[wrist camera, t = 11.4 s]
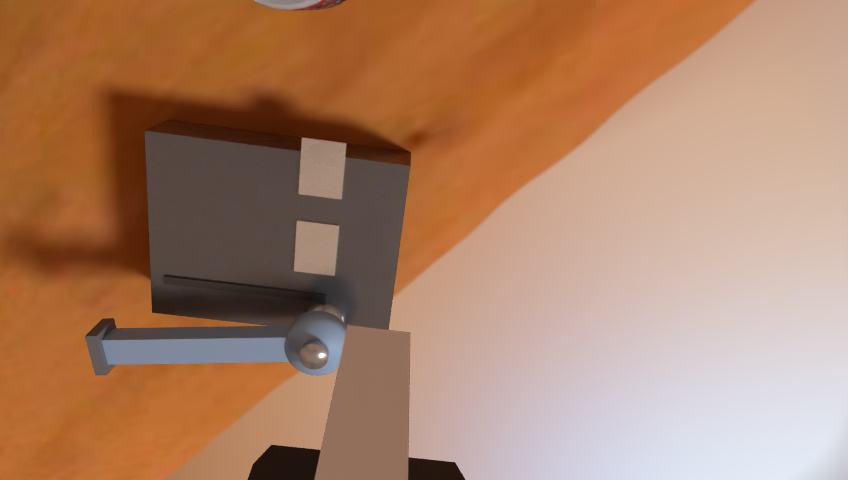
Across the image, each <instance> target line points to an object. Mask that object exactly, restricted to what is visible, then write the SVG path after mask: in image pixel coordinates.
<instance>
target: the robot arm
mask: <svg viewBox="0 0 848 480" xmlns="http://www.w3.org/2000/svg"><path fill="white" fill-rule="evenodd" d="M409 380H410V333H409V332H402V331H393V330H385V329H377V328H368V327H360V326H352V325H347V330H346V335H345V339H344V344H343V349H342V353H341V358H340V363H339V367H338V372H337V377H336V382H335V386H334V391H333V395H332V400H331V405H330V409H329V414H328V419H327V423H326V428H325V433H324V437H323V442H322V447H321V450H315V449H306V448H296V447H287V446H277V445H271V446H270V447H269V448H268V449H267V450H266V451H265V452H264V453H263V454H262V456H261V457H259V458H258V460H257V461H256V462H255V463H254V464H253V466H252V469H251V472H250V475H249V477H248V480H465V478H464V477H463V475H462V473H461V472H460V470H459V468H458V466H457V465H456V463H455V462H445V461H437V460H427V459H418V458H408V450H409V449H408V448H409V445H408V444H409V385H410V381H409Z"/></svg>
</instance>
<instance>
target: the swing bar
mask: <svg viewBox="0 0 848 480" xmlns="http://www.w3.org/2000/svg"><path fill="white" fill-rule="evenodd" d="M346 330H347V327H346V325H345V324H344V323H343V321H342V320H341V319H339V318H338V317H337V316H335V315H333V314H331V313H328V312H325V311H310V312H307V313H304V314H302V315H300V316H299V317H298V318H296V319H295V321H294V322H293V323H292V325H291V326H242V327H177V328H116V325H115V321H114V318H110V319H102V320H101V321H100V322H99V323H98V324H97V325H96V326H95V327H94V328H93V329H92V330H91V331H90V332H89V333H88V334H87V335H86V336H85V338H86V342H87V345H88V349H89V353H90V357H91V360H92V364H93V368H94V372H95V375H107V374H108V373H109V372H110V371H111V370H112V368H113V367H114V366H115V365H119V364H182V363H244V362H290V363H291V364H292V366H294V367H295V368H296V369H298V370H299V371H301V372H303V373H306V374H310V375H326V374H329V373H332V372H334V371H335V370H337V369H338V367H339V363H340V358H341V353H342V349H343V344H344V339H345V335H346ZM310 340H317V341H321V342H323V343H324V344H325V345H326V346H327V347H328V349H329V357H328V361H327V363H326V365H325V366H324V367H322V368H320V369H315V370H314V369H308V368H306V367H305V366H303V365H302V364H301V362H300V360H299V353H300V350H301V347H302V345H303V344H304V343H306V342H307V341H310Z"/></svg>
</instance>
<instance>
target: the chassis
mask: <svg viewBox="0 0 848 480" xmlns="http://www.w3.org/2000/svg"><path fill="white" fill-rule="evenodd" d="M145 153H146V176H147V200H148V224H149V247H150V271H151V295H152V313H160V314H169V315H178V316H187V317H196V318H205V319H214V320H222V321H231V322H240V323H249V324H258V325H267V326H291V325H292V323H293V322H294V321H295V319H296V318H298V317H299V316H300V315H302V314H304V313H307V312H310V311H325V312H328V313H331V314H333V315H335V316H337V317H338V318H339V319H341V320H342V321H343V323H344V324H345V325H346V327H347V325H352V326H360V327H368V328H377V329H385V330H389V322H390V315H391V306H392V300H393V292H394V285H395V277H396V270H397V262H398V255H399V247H400V240H401V232H402V225H403V217H404V210H405V202H406V195H407V187H408V180H409V172H410V162H411V152H403V151H396V150H388V149H381V148H373V147H366V146H358V145H351V144H347V143H343V142H335V141H328V140H320V139H313V138H305V137H302V138H299V137H291V136H284V135H276V134H269V133H261V132H254V131H246V130H239V129H232V128H224V127H217V126H209V125H202V124H194V123H187V122H179V121H172V120H167V121H165V122H163V123H161V124H158V125H156V126H154V127H152V128H150V129H147V130H145ZM328 357H329V349H328V347H327V346H326V345H325V344H324V343H323V342H321V341H317V340H310V341H307V342H306V343H304V344H303V345H302V347H301V350H300V353H299V360H300V362H301V364H302V365H303V366H305V367H306V368H308V369H314V370H315V369H320V368H322V367H324V366H325V365H326V363H327V361H328Z"/></svg>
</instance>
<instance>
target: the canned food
mask: <svg viewBox="0 0 848 480" xmlns="http://www.w3.org/2000/svg"><path fill="white" fill-rule="evenodd" d="M254 1H256V2H257V3H259V4H261V5H264V6H268V7H271V8H275V9H281V10H320V9H327V8H331V7H334V6H336V5H339V4H341V3H343V2H344V1H346V0H254Z"/></svg>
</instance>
